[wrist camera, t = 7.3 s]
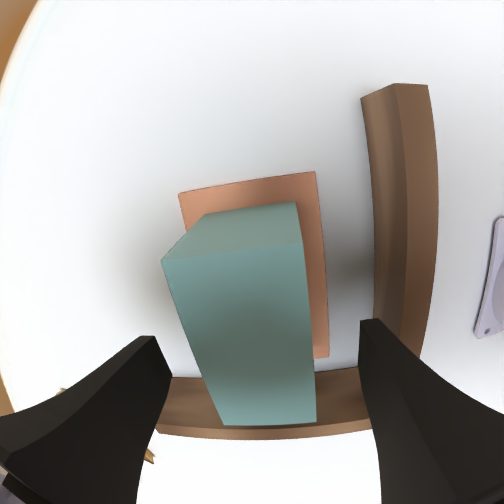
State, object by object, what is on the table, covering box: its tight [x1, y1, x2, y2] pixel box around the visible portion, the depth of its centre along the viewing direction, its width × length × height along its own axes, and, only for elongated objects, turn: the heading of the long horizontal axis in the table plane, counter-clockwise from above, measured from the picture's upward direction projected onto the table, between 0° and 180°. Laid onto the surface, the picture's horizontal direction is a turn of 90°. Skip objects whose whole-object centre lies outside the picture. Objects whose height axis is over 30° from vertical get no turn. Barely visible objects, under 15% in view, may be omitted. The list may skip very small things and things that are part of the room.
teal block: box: [161, 201, 317, 426], centre depth 11 cm, size 8×4×5 cm, turn 10°
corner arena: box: [155, 83, 438, 440], centre depth 12 cm, size 14×16×4 cm
